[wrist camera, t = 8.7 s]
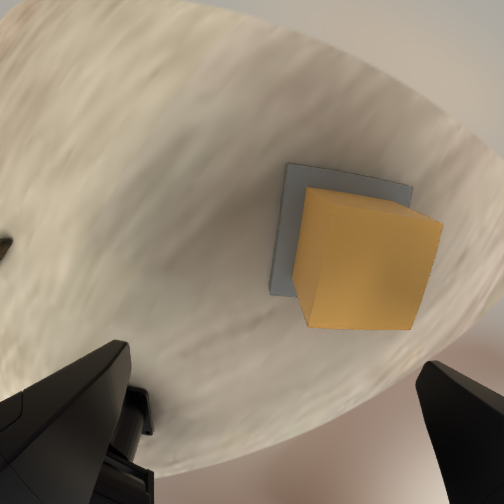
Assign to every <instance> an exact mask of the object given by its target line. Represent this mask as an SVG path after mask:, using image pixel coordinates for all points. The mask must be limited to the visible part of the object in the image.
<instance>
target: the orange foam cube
mask: <svg viewBox="0 0 504 504" xmlns="http://www.w3.org/2000/svg"><path fill="white" fill-rule="evenodd" d="M442 228H443V223H440V222H438V221H436V220H434V219H432V218H430V217H428V216H425V215H423V214H421V213H419V212H417V211H414V210H412V209H410V208H408V207H405V206H403V205H401V204H398V203H396V202H394V201H389V200H384V199H378V198H373V197H368V196H362V195H356V194H350V193H344V192H338V191H332V190H326V189H319V188H312V187H307V188H306V194H305V201H304V208H303V214H302V220H301V227H300V233H299V239H298V245H297V251H296V257H295V263H294V268H293V274H292V280H293V283H294V286H295V289H296V292H297V295H298V298H299V301H300V304H301V308H302V311H303V314H304V317H305V320H306V323H307V326H308V328H328V329H358V330H411V328H412V325H413V322H414V320H415V317H416V314H417V312H418V309H419V306H420V303H421V300H422V297H423V294H424V291H425V288H426V285H427V282H428V279H429V276H430V272H431V269H432V266H433V262H434V259H435V255H436V251H437V248H438V244H439V240H440V236H441V232H442Z"/></svg>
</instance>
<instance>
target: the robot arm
mask: <svg viewBox="0 0 504 504" xmlns="http://www.w3.org/2000/svg"><path fill="white" fill-rule="evenodd" d="M130 374H131V356H130V347H129V344H128V343H127V342H125V341H120V340H112V341H111V342H109V343H107V344H105V345H104V346H102V347H100V348H98V349H96V350H95V351H93V352H91V353H89V354H87V355H86V356H84V357H82V358H80V359H78V360H77V361H75V362H73V363H71V364H69V365H68V366H66V367H64V368H62V369H60V370H59V371H57V372H55V373H53V374H51V375H50V376H48V377H46V378H44V379H42V380H41V381H39V382H37V383H35V384H33V385H31V386H30V387H28V388H26V389H24V390H23V392H22V391H20V392H19V393H17V394H15V395H13V396H11V397H9V398H7V399H5V400H3V401H1V402H0V504H154V472H153V471H151V470H149V469H144V468H142V467H140V466H138V465H136V464H134V463H133V460H134V457H135V453H136V450H137V447H138V443H139V440H140V436H141V434H144V435H153V431H154V430H153V425H152V419H151V413H150V407H149V401H148V394H147V392H146V391H145V390H142V389H138V388H133V387H128V386H127V385H128V381H129V377H130ZM415 386H416V390H417V394H418V398H419V402H420V405H421V409H422V413H423V417H424V421H425V424H426V428H427V431H428V434H429V437H430V440H431V442H432V445H433V449H434V451H435V455H436V458H437V461H438V464H439V468H440V471H441V474H442V477H443V481H444V485H445V488H446V491H447V495H448V499H449V503H450V504H504V397H503V396H502V395H500V394H498V393H496V392H494V391H492V390H490V389H488V388H487V387H485V386H483V385H481V384H479V383H478V382H476V381H474V380H472V379H470V378H469V377H467V376H465V375H463V374H461V373H459V372H458V371H456V370H454V369H452V368H450V367H448V366H447V365H445V364H443V363H441V362H439V361H436V360H435V361H427V362H426V363H425V364H424V366H423V368H422V370H421V372H420V374H419V376H418V378H417V380H416V384H415Z"/></svg>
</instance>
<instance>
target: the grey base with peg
mask: <svg viewBox="0 0 504 504" xmlns="http://www.w3.org/2000/svg"><path fill="white" fill-rule="evenodd" d="M307 187H312V188H319V189H326V190H332V191H338V192H344V193H350V194H356V195H362V196H368V197H373V198H378V199H384V200H389V201H394V202H396V203H398V204H401V205H403V206H405V207H408V208H409V205H410V200H411V194H412V189H413V187H411V186H408V185H404V184H400V183H395V182H391V181H386V180H382V179H377V178H372V177H367V176H362V175H357V174H351V173H346V172H340V171H335V170H329V169H323V168H317V167H310V166H304V165H297V164H290V163H287V164H286V172H285V180H284V187H283V194H282V202H281V209H280V216H279V223H278V230H277V237H276V244H275V251H274V258H273V265H272V271H271V278H270V285H269V291H270V295H276V296H288V297H298V295H297V292H296V289H295V286H294V283H293V280H292V274H293V268H294V263H295V257H296V251H297V245H298V239H299V233H300V227H301V220H302V214H303V208H304V201H305V194H306V188H307Z"/></svg>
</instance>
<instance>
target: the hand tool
mask: <svg viewBox="0 0 504 504" xmlns="http://www.w3.org/2000/svg"><path fill="white" fill-rule="evenodd" d="M10 245H11V240H9V239H0V260H1V258H2V257H3V256H4V254H5V253H6V251H7V249H8V248H9V246H10Z"/></svg>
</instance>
